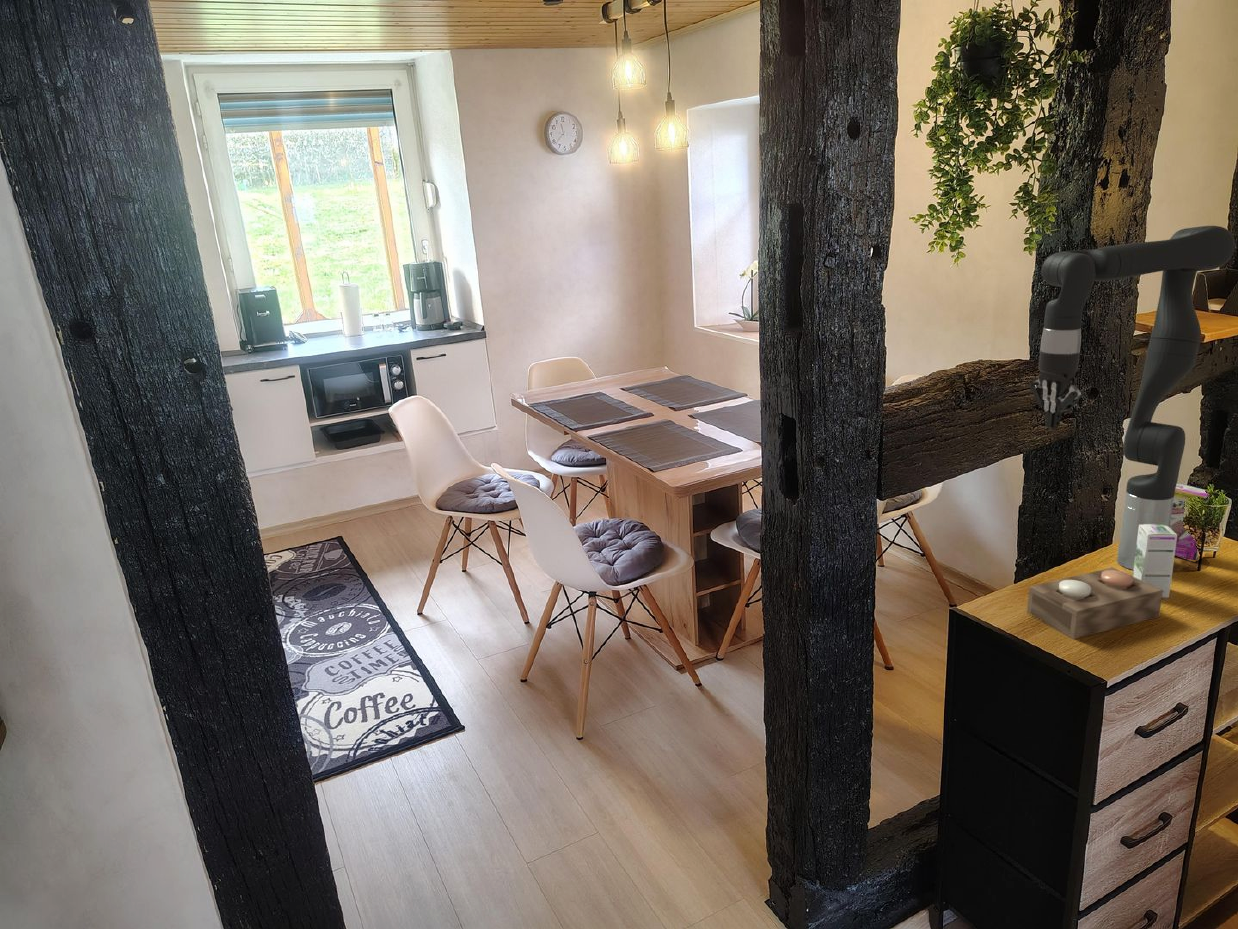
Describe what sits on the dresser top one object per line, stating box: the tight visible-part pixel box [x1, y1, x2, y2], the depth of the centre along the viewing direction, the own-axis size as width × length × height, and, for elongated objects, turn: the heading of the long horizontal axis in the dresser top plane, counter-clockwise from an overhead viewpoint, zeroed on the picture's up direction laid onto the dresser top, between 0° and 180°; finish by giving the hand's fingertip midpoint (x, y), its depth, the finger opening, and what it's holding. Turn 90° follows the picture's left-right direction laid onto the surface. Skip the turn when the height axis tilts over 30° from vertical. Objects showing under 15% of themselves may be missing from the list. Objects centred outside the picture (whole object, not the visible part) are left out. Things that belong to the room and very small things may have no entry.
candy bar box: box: [1170, 482, 1211, 560], centre depth 199 cm, size 11×5×16 cm, turn 33°
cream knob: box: [1059, 580, 1091, 601], centre depth 173 cm, size 6×6×7 cm
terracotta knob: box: [1101, 570, 1133, 590], centre depth 176 cm, size 6×6×7 cm
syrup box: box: [1132, 524, 1177, 599], centre depth 182 cm, size 6×6×14 cm
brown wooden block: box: [1026, 567, 1163, 640], centre depth 175 cm, size 22×12×6 cm, turn 109°
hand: (1051, 428), depth 187 cm, fingers closed
